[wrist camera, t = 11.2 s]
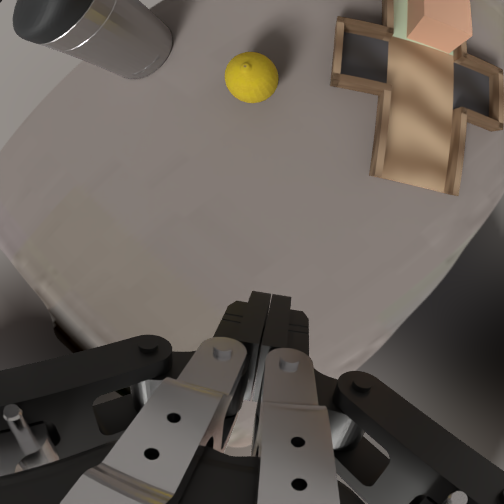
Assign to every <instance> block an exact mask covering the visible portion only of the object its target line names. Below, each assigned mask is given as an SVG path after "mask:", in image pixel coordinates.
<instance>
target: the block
mask: <svg viewBox="0 0 504 504" xmlns="http://www.w3.org/2000/svg"><path fill="white" fill-rule="evenodd" d="M471 36H472V21H471V9H470V0H408V8H407V38H408V39H411V40H414V41H417V42H420V43H422V44H425V45H428V46H431V47H433V48H436V49H438V50H441V51H443V52H446V53H448V54H449V53H450V52H452V51H453V50H454V49H456V48H457V47H458V46H460V45H461V44H462V43H464V42H465V41H466V40H468V39H469V38H470V37H471Z"/></svg>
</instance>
